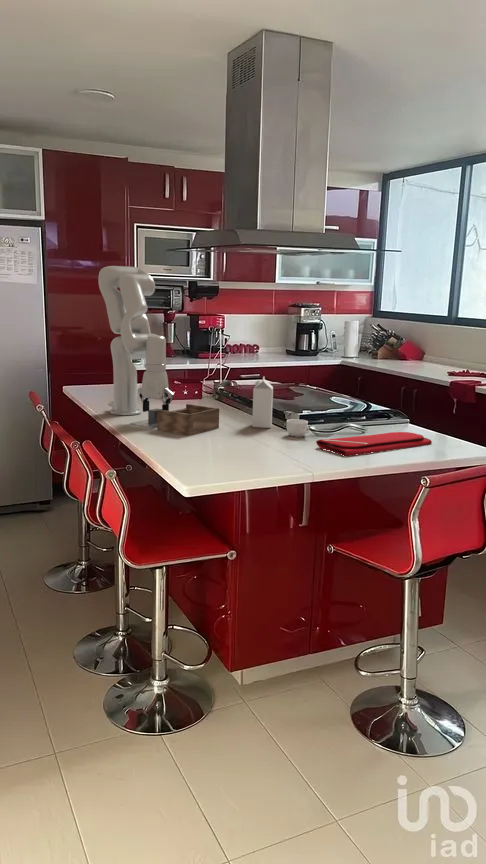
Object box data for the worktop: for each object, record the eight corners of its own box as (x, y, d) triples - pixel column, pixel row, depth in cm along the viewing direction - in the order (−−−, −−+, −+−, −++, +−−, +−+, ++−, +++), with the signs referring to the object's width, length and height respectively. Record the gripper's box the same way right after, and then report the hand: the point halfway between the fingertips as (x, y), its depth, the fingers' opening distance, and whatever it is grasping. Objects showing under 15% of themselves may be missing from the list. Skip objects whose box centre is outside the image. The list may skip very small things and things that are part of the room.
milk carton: (271, 424, 270) (273, 376, 266) (270, 428, 263) (272, 378, 260) (253, 424, 271) (255, 375, 267) (252, 427, 264) (253, 378, 260)
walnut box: (157, 429, 255) (157, 409, 253) (187, 422, 269) (187, 403, 268) (189, 435, 247) (189, 414, 245) (218, 428, 261) (219, 408, 260)
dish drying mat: (432, 445, 244) (433, 435, 243) (346, 458, 221) (347, 447, 220) (399, 437, 256) (399, 427, 256) (314, 449, 234) (315, 438, 233)
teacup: (281, 435, 252) (282, 420, 251) (296, 432, 257) (297, 418, 256) (300, 440, 245) (301, 425, 243) (316, 437, 249) (316, 422, 248)
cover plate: (129, 425, 264) (129, 410, 262) (155, 420, 276) (155, 405, 275) (155, 430, 257) (155, 414, 256) (180, 424, 270) (180, 409, 269)
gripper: (131, 367, 264) (132, 411, 267) (167, 371, 255) (166, 417, 258) (145, 365, 270) (145, 409, 273) (179, 369, 261) (179, 414, 264)
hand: (155, 412), depth 266 cm, fingers open, 9 cm apart
